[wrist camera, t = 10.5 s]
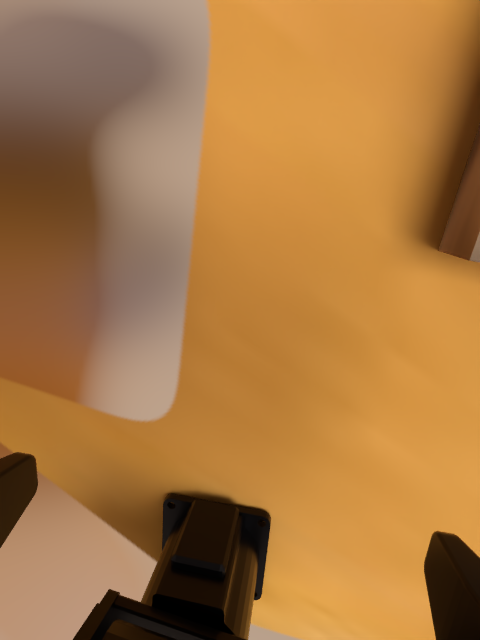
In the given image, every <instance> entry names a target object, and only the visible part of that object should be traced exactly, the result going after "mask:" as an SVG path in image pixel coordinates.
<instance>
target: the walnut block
mask: <svg viewBox="0 0 480 640" xmlns="http://www.w3.org/2000/svg"><path fill="white" fill-rule="evenodd" d="M438 251H441V252H444V253H448V254H451V255H454V256H457V257H460V258H463V259H467V260H470V261H475V262H480V124H479V127H478V130H477V133H476V137H475V140H474V143H473V146H472V149H471V152H470V155H469V158H468V161H467V164H466V167H465V170H464V173H463V176H462V179H461V182H460V185H459V188H458V192H457V195H456V198H455V201H454V204H453V207H452V210H451V213H450V216H449V219H448V222H447V225H446V228H445V231H444V234H443V237H442V240H441V243H440V247H439V250H438Z"/></svg>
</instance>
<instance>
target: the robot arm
mask: <svg viewBox="0 0 480 640" xmlns="http://www.w3.org/2000/svg"><path fill="white" fill-rule="evenodd" d="M37 486H38V479H37V467H36V459H35V457H34V456H33V455H31V454H25V453H19V452H17V453H13V454H11V455H8V456H6V457H3V458H1V459H0V548H1V546H2V545H3V543H4V542H5V540H6V538H7V537H8V535H9V534H10V532H11V531H12V529H13V528H14V526H15V524H16V523H17V521H18V520H19V518H20V517H21V515H22V514H23V512H24V510H25V509H26V507H27V506H28V504H29V503H30V501H31V500H32V498H33V496H34V495H35V493H36V490H37ZM171 502H173V503H174V504H172V503H171ZM260 520H264V521H265V522H262V521H260ZM270 523H271V517H270V515H269V514H268V513H267V512H264V511H259V510H254V509H249V508H244V507H239V506H233V505H228V504H223V503H218V502H213V501H208V500H202V499H197V498H192V497H187V496H182V495H176V494H169V495H168V496H167V497H166V499H165V501H164V504H163V539H162V553H161V556H160V558H159V560H158V563H157V565H156V567H155V570H154V572H153V574H152V577H151V579H150V581H149V584H148V586H147V589H146V591H145V593H144V595H143V598H142V601H141V602H138V601H135V600H132V599H130V598H127V597H124V596H121V595H120V593H119V592H116V591H113V590H111V589H109V590H108V592H107V593H106V595H105V596H104V598H103V599H102V601H101V602H100V604H99V603H97V604H96V606H95V607H94V609H93V610H92V612H91V613H90V615H89V616H88V618H87V619H86V621H85V622H84V624H83V625H82V627H81V628H80V630H79V631H78V632H77V634H76V636H75V637H74V639H73V640H248V636H249V628H250V622H251V615H252V607H253V600H258V599H260V598H261V594H262V587H263V579H264V571H265V563H266V555H267V547H268V539H269V531H270ZM424 573H425V579H426V585H427V591H428V596H429V602H430V608H431V613H432V619H433V625H434V630H435V636H436V640H480V558H479V557H478V556H477V555H476V554H475V553H474V552H473V551H472V550H471V549H470V548H469V547H468V546H467V545H466V544H465V543H464V542H463V541H462V540H461V539H460V538H459V537H458V536H457V535H455V534H451V533H446V532H440V531H436V532H434V533H433V534H432V537H431V540H430V544H429V547H428V551H427V554H426V558H425V562H424Z"/></svg>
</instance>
